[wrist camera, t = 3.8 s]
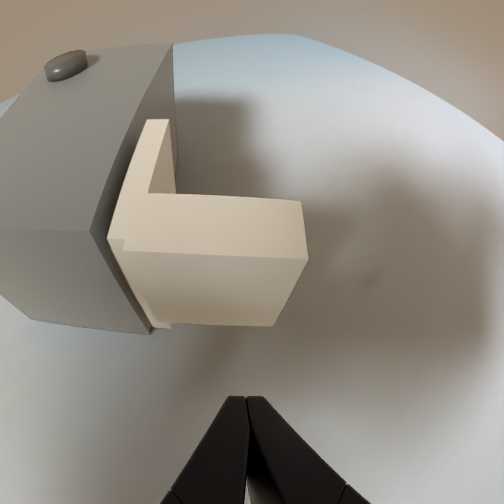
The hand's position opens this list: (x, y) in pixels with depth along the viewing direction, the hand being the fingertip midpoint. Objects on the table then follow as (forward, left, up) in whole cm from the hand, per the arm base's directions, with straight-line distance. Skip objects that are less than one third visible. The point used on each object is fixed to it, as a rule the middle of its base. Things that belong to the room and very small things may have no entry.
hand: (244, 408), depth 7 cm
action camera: (+12, +3, -7) cm, 14 cm away
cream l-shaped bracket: (+6, -1, -5) cm, 8 cm away
